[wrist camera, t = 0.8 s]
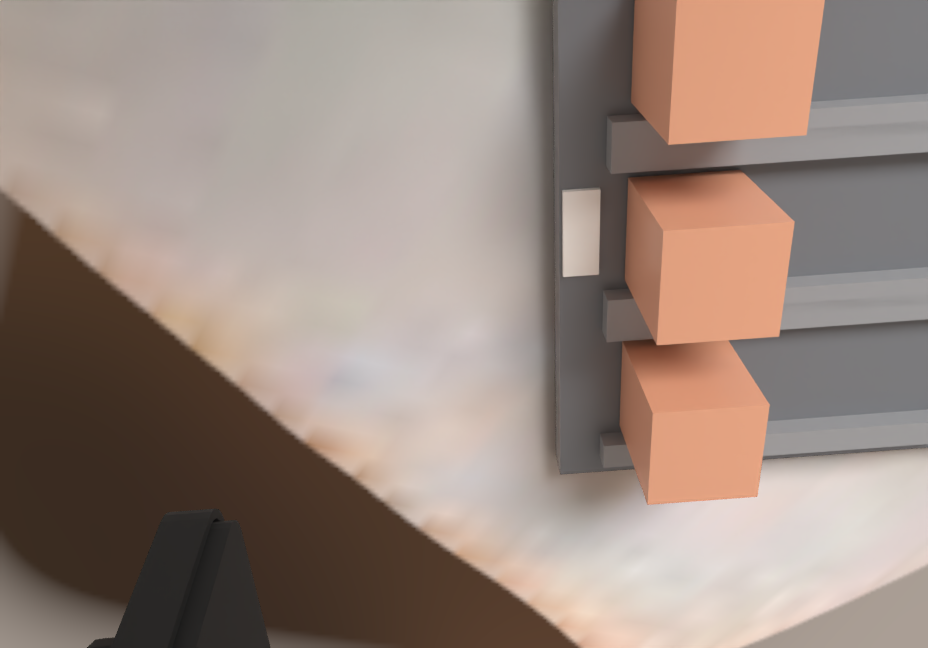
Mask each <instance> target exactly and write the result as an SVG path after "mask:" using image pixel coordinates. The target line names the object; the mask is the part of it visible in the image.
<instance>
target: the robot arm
mask: <svg viewBox="0 0 928 648" xmlns="http://www.w3.org/2000/svg"><path fill="white" fill-rule="evenodd" d="M87 648H270V644H269V640H268V636H267V632H266V628H265V624H264V620H263V616H262V612H261V608H260V604H259V600H258V596H257V592H256V588H255V584H254V580H253V576H252V571H251V567H250V563H249V560H248V555H247V551H246V547H245V543H244V539H243V536H242V531H241V528H240V525H239V523H238V521H236V520H231V521H224V518H223V516H222V513H221V512H220V510H219V509H205V510H192V511H180V512H168V513H167V514H165V515H164V517H163V518H162V520H161V522H160V525H159V527H158V530H157V532H156V535H155V537H154V540H153V542H152V545H151V547H150V550H149V552H148V555H147V558H146V560H145V563H144V565H143V568H142V570H141V573H140V575H139V578H138V580H137V583H136V585H135V588H134V590H133V593H132V596H131V598H130V601H129V603H128V606H127V608H126V611H125V613H124V616H123V618H122V621H121V624H120V626H119V628H118V631H117V634H116V636H115V638H103V639H98V640H95V641H94V642H93V643H92V644H91V645H89V646H88V647H87Z"/></svg>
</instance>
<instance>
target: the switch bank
mask: <svg viewBox="0 0 928 648" xmlns="http://www.w3.org/2000/svg"><path fill="white" fill-rule="evenodd" d="M634 4H635V0H553V109H554V243H555V378H556V457H557V462H558V466H559V470H560V474H573V473H586V472H600V471H614V470H627V469H635V468H634V465H633V462H632V459H631V456H630V453H629V451H628V448H627V445H626V442H625V439H624V436H623V434H622V431H621V428H620V425H619V423H620V395H621V367H622V341H632V340H646V339H653V337H652V334H651V332H650V330H649V328H648V326H647V324H646V322H645V320H644V318H643V316H642V314H641V312H640V310H639V308H638V306H637V304H636V302H635V300H634V298H633V296H632V294H631V292H630V289H629V287H628V285H627V283H626V281H625V255H626V227H627V199H628V178H629V177H644V176H658V175H672V174H687V173H701V172H715V171H730V170H741V171H742V172H743V173H744V174H745V175H746V176H748V177H749V178H750V179H751V180H752V181H753V182H754V183H755V184H756V185H757V186H758V187H759V188H760V189H761V190H762V191H763V192H764V193H765V194H766V195H767V196H768V197H769V198H770V199H772V200H773V201H774V202H775V203H776V204H777V205H778V206H779V207H780V208H781V209H782V210H783V211H784V212H785V213H786V214H787V215H788V216H789V217H790V218H791V219H792V220H793V221H795V223H794V231H793V238H792V245H791V253H790V260H789V268H788V275H787V282H786V290H785V297H784V304H783V312H782V319H781V326H780V334H779V337H766V338H752V339H739V340H728V341H729V342H730V344H731V345H732V347H733V348H734V350H735V352H736V353H737V355H738V356H739V358H740V359H741V361H742V362H743V364H744V365H745V367H746V369H747V370H748V372H749V373H750V375H751V376H752V378H753V379H754V381H755V383H756V384H757V386H758V387H759V389H760V390H761V392H762V393H763V395H764V397H765V398H766V400H767V401H768V403H769V404H770V407H769V414H768V422H767V429H766V436H765V444H764V451H763V458H762V460H763V459H777V458H790V457H804V456H818V455H831V454H845V453H858V452H872V451H886V450H899V449H913V448H926V447H928V0H825V3H824V10H823V18H822V25H821V32H820V40H819V47H818V55H817V62H816V69H815V77H814V84H813V91H812V99H811V106H810V113H809V121H808V128H807V135H803V136H789V137H774V138H760V139H745V140H731V141H717V142H702V143H688V144H673V145H668V144H667V143H666V141H665V140H664V139H663V138H662V137H661V136H660V135H659V133H658V132H657V131H656V130H655V129H654V128H653V127H652V126H651V124H650V123H649V122H648V121H647V120H646V119H645V118H644V116H643V115H642V114H641V113H640V112H639V111H638V110H637V108H636V107H635V106H634V105H633V104H632V103H631V87H632V59H633V31H634Z"/></svg>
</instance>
